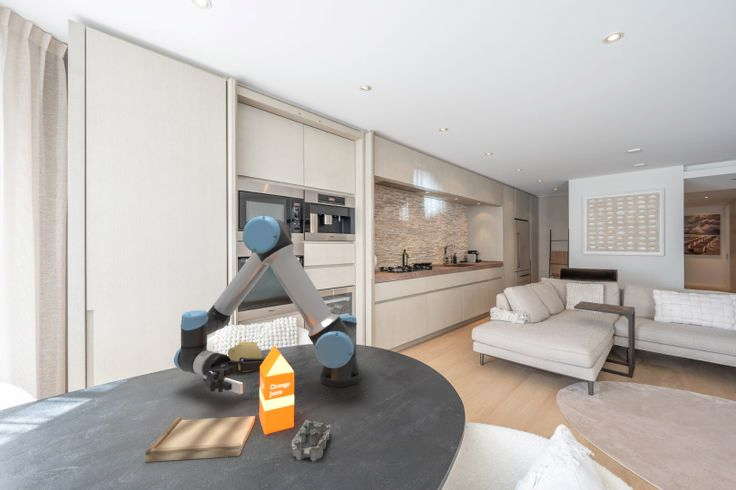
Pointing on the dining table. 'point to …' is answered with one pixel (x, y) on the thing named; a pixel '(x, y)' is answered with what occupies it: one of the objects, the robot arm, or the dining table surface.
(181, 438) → the serving board
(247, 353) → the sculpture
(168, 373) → the dining table surface
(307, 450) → the egg carton
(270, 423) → the orange juice
